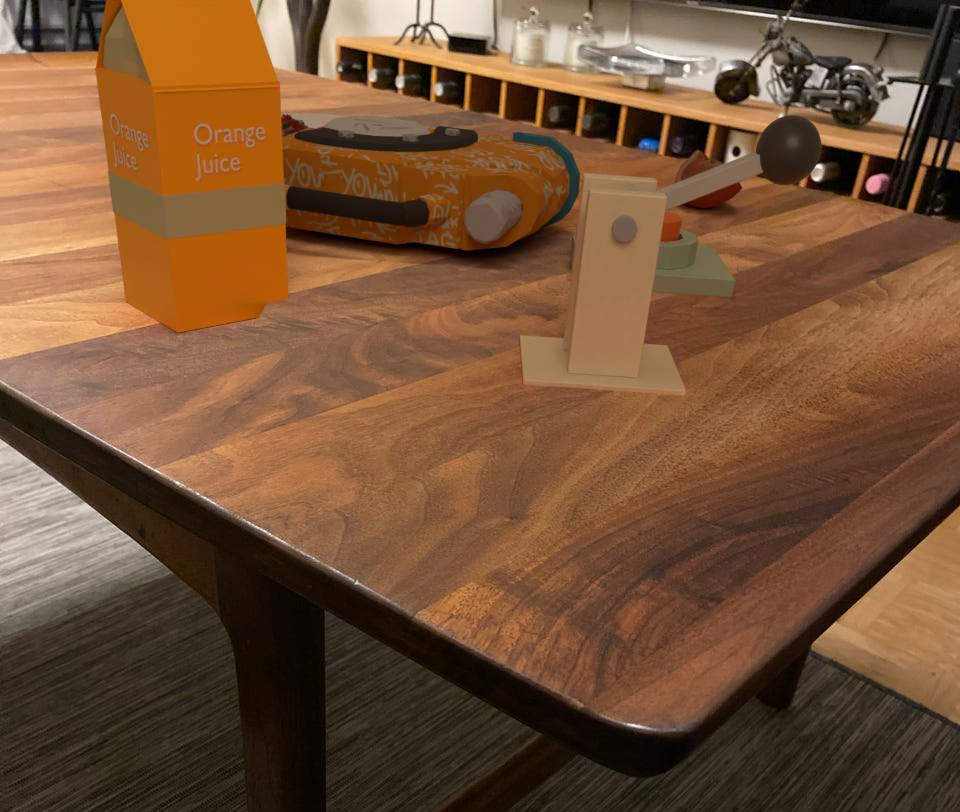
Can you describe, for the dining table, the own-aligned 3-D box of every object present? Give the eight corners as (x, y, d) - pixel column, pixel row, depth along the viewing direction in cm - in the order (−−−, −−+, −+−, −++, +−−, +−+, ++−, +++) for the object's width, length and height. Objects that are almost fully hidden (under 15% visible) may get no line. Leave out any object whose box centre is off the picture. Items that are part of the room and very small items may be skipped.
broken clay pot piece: (662, 195, 112) (670, 146, 109) (720, 198, 113) (730, 148, 110) (685, 215, 106) (694, 162, 103) (747, 217, 107) (758, 165, 104)
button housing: (707, 271, 89) (716, 223, 87) (729, 308, 81) (740, 256, 79) (569, 261, 89) (575, 212, 86) (577, 297, 80) (584, 244, 78)
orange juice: (290, 311, 73) (278, -22, 62) (177, 333, 68) (140, -25, 57) (233, 282, 78) (211, -33, 66) (123, 300, 73) (78, -37, 61)
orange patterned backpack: (524, 181, 75) (160, 129, 81) (513, 294, 80) (171, 237, 86) (590, 134, 93) (287, 94, 99) (578, 229, 98) (290, 185, 104)
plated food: (422, 197, 104) (423, 161, 102) (140, 165, 107) (136, 129, 105) (473, 145, 128) (475, 115, 126) (243, 121, 131) (241, 91, 129)
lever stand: (664, 362, 70) (697, 176, 63) (683, 409, 63) (721, 207, 57) (518, 352, 70) (535, 164, 63) (521, 398, 63) (541, 193, 56)
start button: (674, 233, 84) (678, 211, 83) (681, 247, 81) (685, 224, 80) (625, 230, 84) (629, 207, 83) (631, 243, 81) (634, 220, 80)
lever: (817, 163, 61) (805, 100, 59) (834, 176, 58) (822, 110, 56) (602, 247, 64) (585, 188, 62) (608, 263, 61) (590, 203, 59)
